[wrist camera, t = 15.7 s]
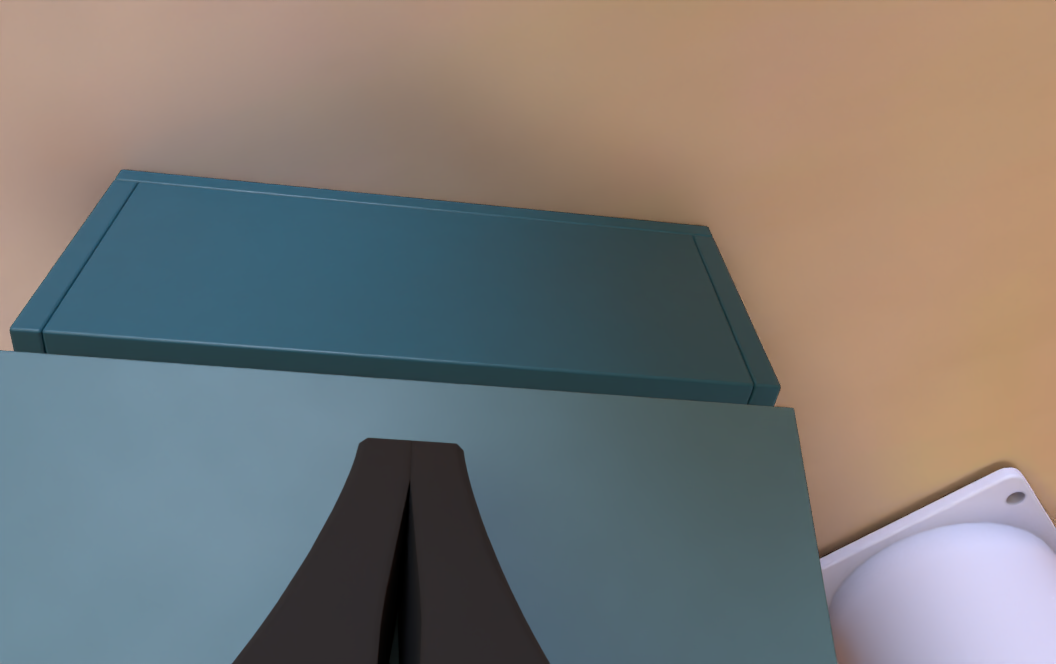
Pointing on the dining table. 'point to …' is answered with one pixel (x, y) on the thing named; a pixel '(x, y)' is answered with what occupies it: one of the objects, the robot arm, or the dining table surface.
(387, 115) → the dining table surface
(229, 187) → the teal box
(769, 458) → the cool box flap
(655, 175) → the dining table surface
